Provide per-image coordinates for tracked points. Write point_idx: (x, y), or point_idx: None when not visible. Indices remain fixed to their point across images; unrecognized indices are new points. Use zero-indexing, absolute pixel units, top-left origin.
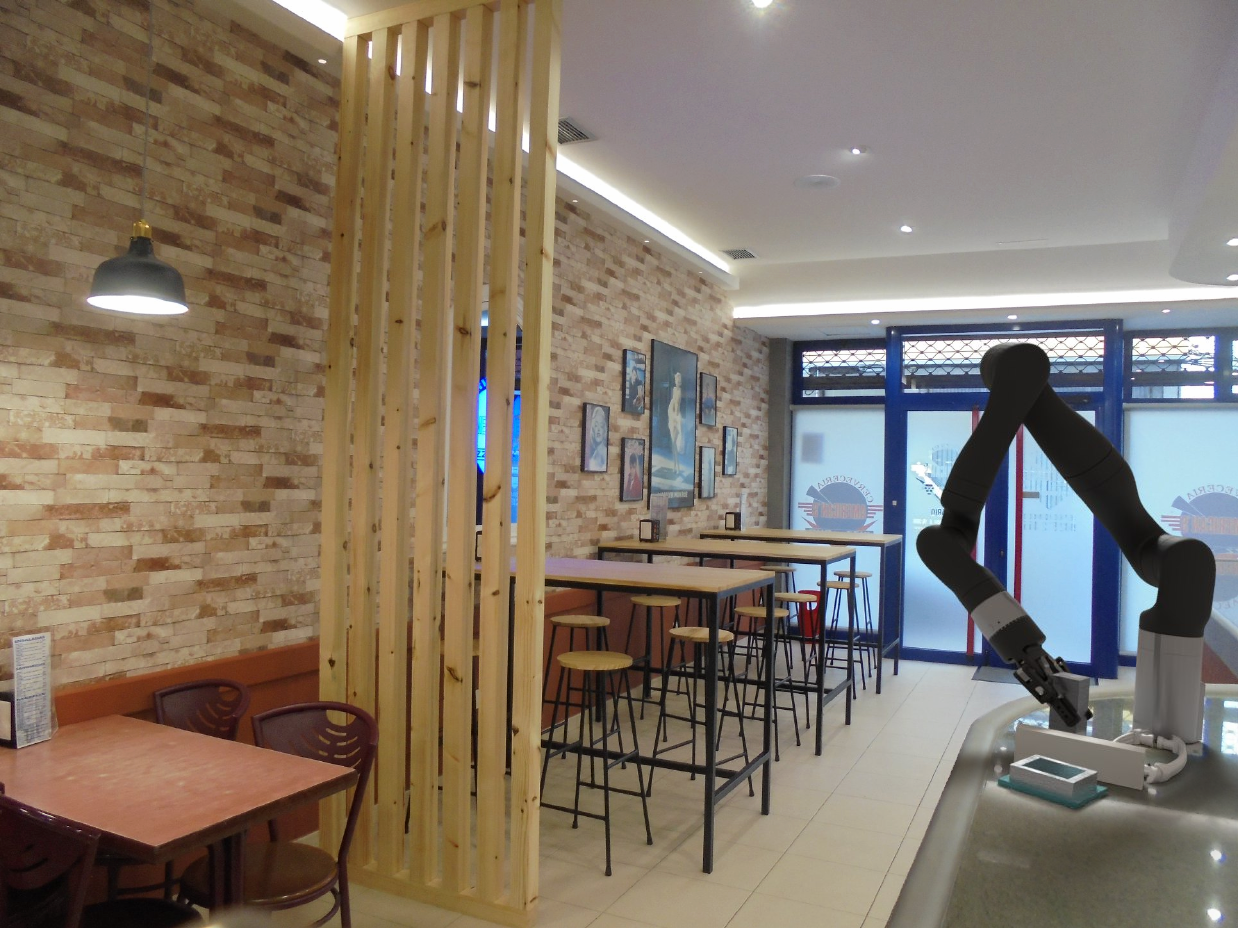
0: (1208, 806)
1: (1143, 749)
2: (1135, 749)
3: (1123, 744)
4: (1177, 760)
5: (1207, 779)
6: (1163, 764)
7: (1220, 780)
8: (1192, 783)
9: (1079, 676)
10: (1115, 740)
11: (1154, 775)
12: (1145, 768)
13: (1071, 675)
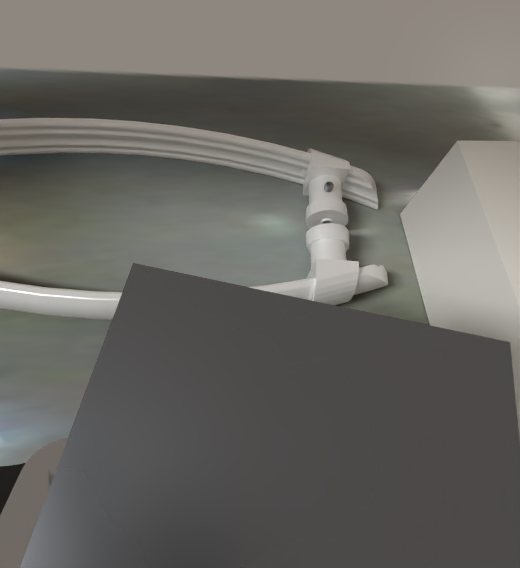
0: (429, 109)
1: (485, 145)
2: (516, 163)
3: (492, 197)
4: (206, 131)
5: (204, 106)
6: (318, 152)
7: (187, 86)
8: (275, 130)
9: (178, 400)
10: (86, 293)
11: (373, 181)
12: (341, 199)
13: (219, 534)
